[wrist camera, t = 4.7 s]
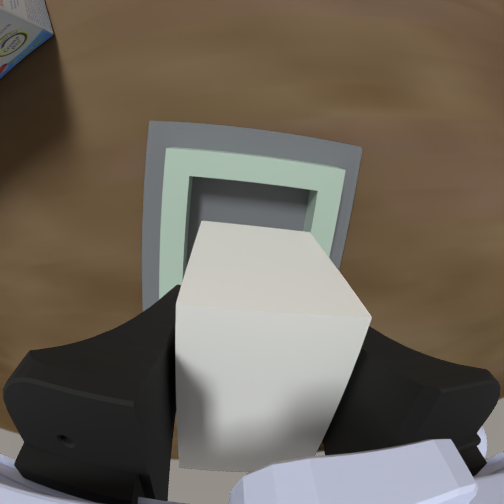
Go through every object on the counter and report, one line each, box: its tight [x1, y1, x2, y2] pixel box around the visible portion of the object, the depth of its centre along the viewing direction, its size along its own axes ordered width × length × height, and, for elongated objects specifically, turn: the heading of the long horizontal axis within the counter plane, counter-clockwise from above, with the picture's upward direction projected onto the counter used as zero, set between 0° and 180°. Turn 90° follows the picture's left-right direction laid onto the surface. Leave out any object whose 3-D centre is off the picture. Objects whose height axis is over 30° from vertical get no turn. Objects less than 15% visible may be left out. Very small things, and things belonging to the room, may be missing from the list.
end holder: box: [142, 121, 362, 311], centre depth 17 cm, size 11×13×2 cm
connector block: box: [175, 221, 372, 472], centre depth 10 cm, size 4×6×6 cm, turn 173°
